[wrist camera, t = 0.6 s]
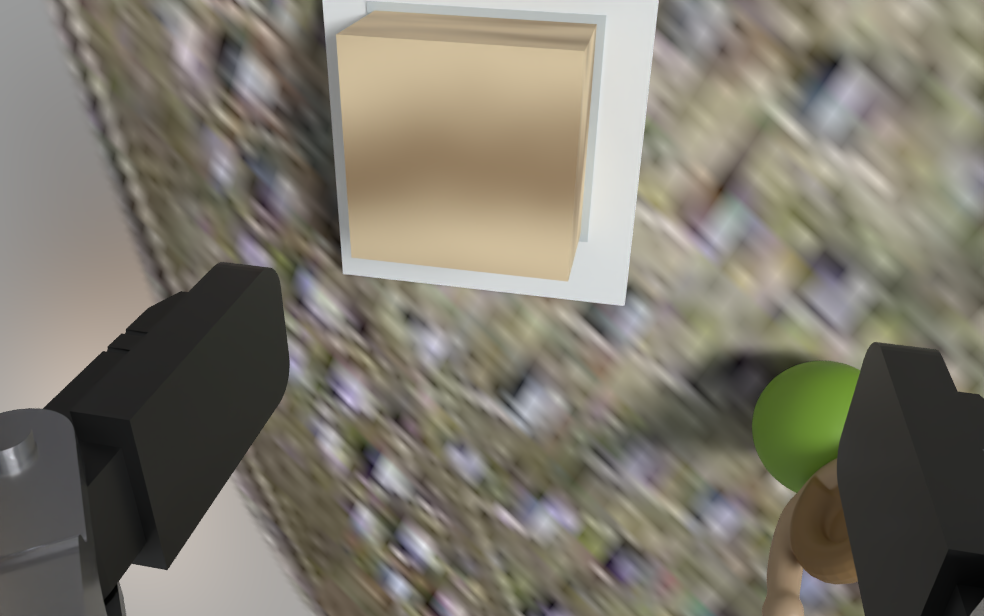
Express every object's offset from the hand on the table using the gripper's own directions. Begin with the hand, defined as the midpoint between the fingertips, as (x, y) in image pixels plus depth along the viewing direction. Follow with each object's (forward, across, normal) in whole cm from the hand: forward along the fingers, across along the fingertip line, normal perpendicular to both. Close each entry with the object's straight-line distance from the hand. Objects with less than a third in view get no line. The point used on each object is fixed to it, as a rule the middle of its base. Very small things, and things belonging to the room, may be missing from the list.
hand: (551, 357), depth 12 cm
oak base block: (+21, +5, +4) cm, 22 cm away
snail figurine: (+22, -9, +15) cm, 28 cm away
